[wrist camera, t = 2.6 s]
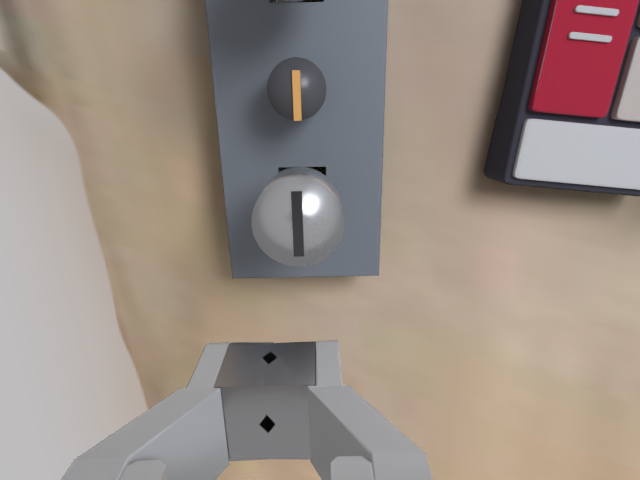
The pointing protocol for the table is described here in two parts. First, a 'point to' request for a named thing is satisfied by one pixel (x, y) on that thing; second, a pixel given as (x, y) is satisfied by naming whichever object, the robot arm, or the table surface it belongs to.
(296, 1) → the knob
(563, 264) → the table surface
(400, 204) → the table surface
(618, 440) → the table surface
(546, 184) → the calculator
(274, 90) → the dial
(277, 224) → the knob
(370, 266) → the panel
